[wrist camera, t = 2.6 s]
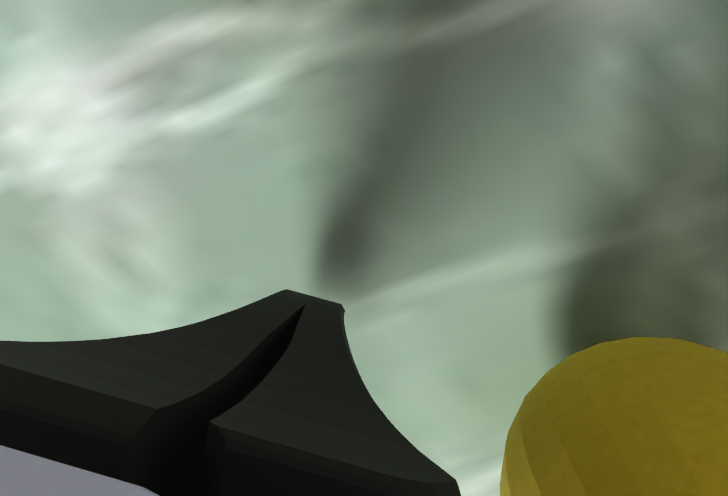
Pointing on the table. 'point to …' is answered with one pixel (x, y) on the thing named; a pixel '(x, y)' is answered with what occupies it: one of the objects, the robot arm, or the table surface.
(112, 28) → the table surface
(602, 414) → the lemon
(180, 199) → the table surface
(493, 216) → the table surface
